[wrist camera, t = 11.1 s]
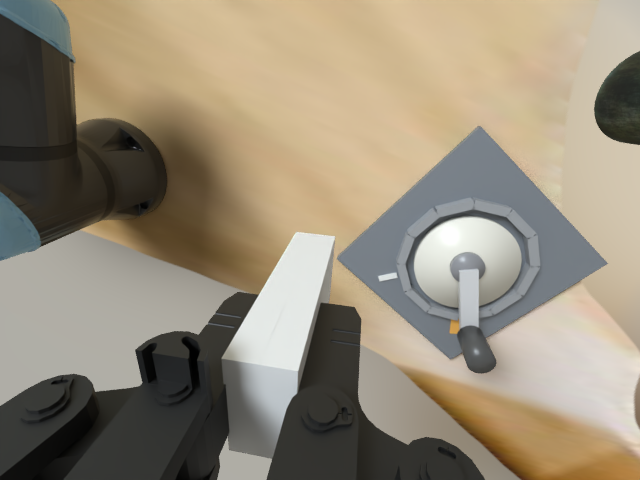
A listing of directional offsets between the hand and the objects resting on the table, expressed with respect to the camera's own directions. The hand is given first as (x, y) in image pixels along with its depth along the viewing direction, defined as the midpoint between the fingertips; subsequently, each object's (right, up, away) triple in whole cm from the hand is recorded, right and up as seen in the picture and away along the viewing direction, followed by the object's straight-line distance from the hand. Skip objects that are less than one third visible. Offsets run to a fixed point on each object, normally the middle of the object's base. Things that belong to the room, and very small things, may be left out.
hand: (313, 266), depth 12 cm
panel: (+21, -2, +34) cm, 40 cm away
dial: (+21, -5, +34) cm, 40 cm away
